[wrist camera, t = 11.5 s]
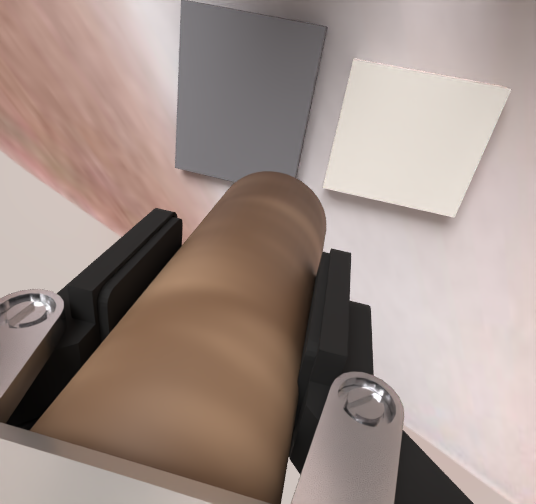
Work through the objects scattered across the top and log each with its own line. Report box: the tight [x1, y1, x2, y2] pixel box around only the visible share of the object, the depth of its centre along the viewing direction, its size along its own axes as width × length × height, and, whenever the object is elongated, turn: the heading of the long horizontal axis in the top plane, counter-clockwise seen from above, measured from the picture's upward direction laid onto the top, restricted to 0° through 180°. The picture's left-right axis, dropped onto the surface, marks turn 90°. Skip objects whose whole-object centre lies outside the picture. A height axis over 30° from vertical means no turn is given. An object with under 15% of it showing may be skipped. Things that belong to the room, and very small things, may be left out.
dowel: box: [29, 171, 326, 504], centre depth 8 cm, size 4×4×14 cm
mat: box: [175, 0, 327, 182], centre depth 30 cm, size 10×12×1 cm
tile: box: [323, 58, 511, 218], centre depth 28 cm, size 2×9×10 cm
